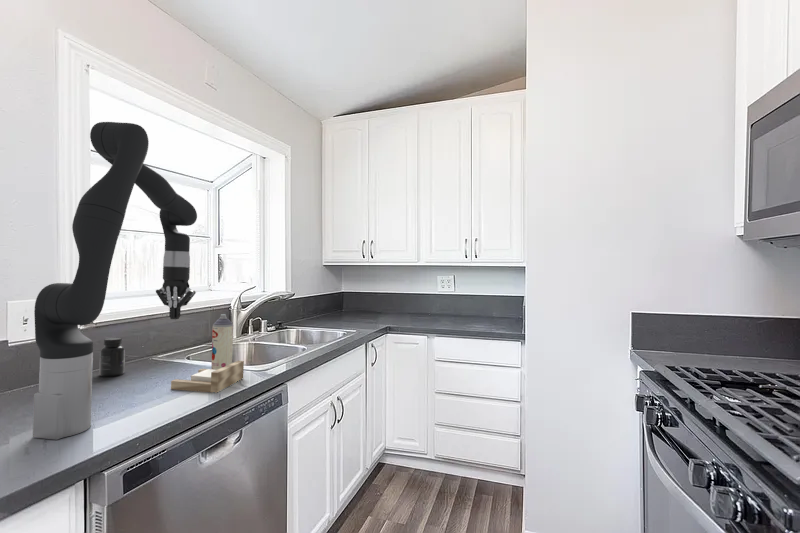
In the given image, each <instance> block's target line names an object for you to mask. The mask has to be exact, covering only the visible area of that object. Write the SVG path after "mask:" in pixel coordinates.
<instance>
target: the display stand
mask: <svg viewBox="0 0 800 533" xmlns="http://www.w3.org/2000/svg"><path fill="white" fill-rule="evenodd" d="M244 362H245V361H243V360H237V361H234V362H232V364H229V365H227V366H225V367H223V368H220V369H218V370H216V371H213V372H211V382H206V381H193V380H191V379H177V378H175V379H173V380H171V381H170V382H171V383H170V390H177V391H188V392H199V391H200V393H201V392H202V393H213V392H215V393H216V394H218V393H219V391H220V390H221V391H223V390H225V389H227V388H229V387H231V386H233V385H234V383H235V384H237V383H238V382H240V381H242V380H243V379H244V366H245V363H244ZM207 369H208V368H200V369H198V371H197V373H199V372H202V371H204V370H207ZM212 370H215V369H212ZM242 378H243V379H242ZM241 379H242V380H241ZM239 380H240V381H239ZM237 381H238V382H237ZM236 382H237V383H236ZM232 384H233V385H232ZM230 385H231V386H230ZM228 386H229V387H228ZM226 387H227V388H226ZM224 388H225V389H224ZM222 389H223V390H222ZM221 391H220V392H221ZM217 392H218V393H217ZM215 393H214V394H215Z"/></svg>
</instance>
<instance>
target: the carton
mask: <svg viewBox="0 0 800 533" xmlns="http://www.w3.org/2000/svg"><path fill="white" fill-rule="evenodd" d="M206 369H207V370H204V371H202V372H199V373H198V372H196V373H194V374H192V375H190V380H193V381H206V382H211V372H213V371H216V370H212V369H210V368H206Z"/></svg>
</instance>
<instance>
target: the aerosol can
mask: <svg viewBox="0 0 800 533" xmlns="http://www.w3.org/2000/svg"><path fill="white" fill-rule="evenodd" d="M211 334H212V339H211V340H212V341H211V369H215V370H218V369H220V368H223V367H225V366H227V365H229V364H232V363H233V346H234V343H233V342H234V324H233V322H232V321H231V320H230V319H229V318H228V317H227V314H226V313H225V314H224V313H223V314H222V313H221V314H220V317H219V318H218V319H216V321H215V322H213V323H212V333H211Z"/></svg>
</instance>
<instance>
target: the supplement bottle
mask: <svg viewBox="0 0 800 533" xmlns="http://www.w3.org/2000/svg"><path fill="white" fill-rule="evenodd" d="M122 339H123V338H122V337H109V338H104V339H103V340H104V341H103V347H102V348H101V349H100V351H99V371H98V372H99V376H100V377H103V378H104V377H105V378H110V377H117V376H120V375H121V376H122V375H123V374H124V373H125V363H126V362H125V358H126V350H125V349H126V348H125V347H124V346H123V345H122V343H123V340H122Z"/></svg>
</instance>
